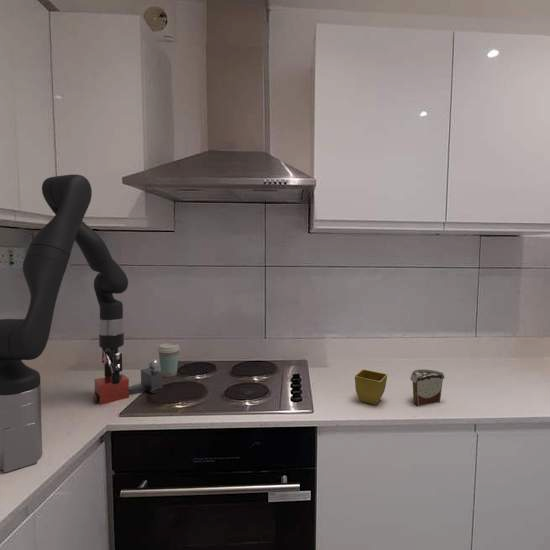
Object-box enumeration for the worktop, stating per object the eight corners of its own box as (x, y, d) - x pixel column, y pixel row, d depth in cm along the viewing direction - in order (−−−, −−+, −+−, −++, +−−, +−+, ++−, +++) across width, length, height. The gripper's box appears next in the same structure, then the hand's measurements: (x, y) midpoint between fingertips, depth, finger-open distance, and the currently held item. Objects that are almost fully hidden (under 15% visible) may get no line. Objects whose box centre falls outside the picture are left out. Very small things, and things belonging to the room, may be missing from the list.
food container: (429, 395, 126) (430, 367, 126) (443, 402, 120) (444, 372, 120) (401, 399, 122) (402, 371, 121) (414, 407, 116) (415, 377, 115)
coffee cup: (184, 374, 144) (184, 345, 143) (165, 380, 138) (165, 349, 137) (172, 369, 150) (172, 341, 149) (153, 374, 143) (153, 345, 142)
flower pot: (387, 399, 122) (387, 373, 121) (379, 408, 114) (380, 381, 114) (361, 393, 126) (362, 369, 126) (353, 402, 119) (354, 376, 119)
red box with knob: (128, 397, 120) (128, 376, 120) (100, 404, 115) (99, 382, 114) (122, 392, 125) (122, 371, 125) (94, 398, 120) (94, 377, 119)
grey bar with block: (165, 390, 127) (165, 361, 126) (98, 407, 113) (97, 374, 112) (154, 382, 135) (154, 354, 134) (90, 397, 120) (89, 366, 120)
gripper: (93, 329, 122) (94, 376, 122) (105, 337, 111) (105, 388, 112) (116, 327, 127) (117, 372, 127) (130, 334, 116) (130, 383, 116)
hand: (111, 380), depth 119 cm, fingers open, 8 cm apart
